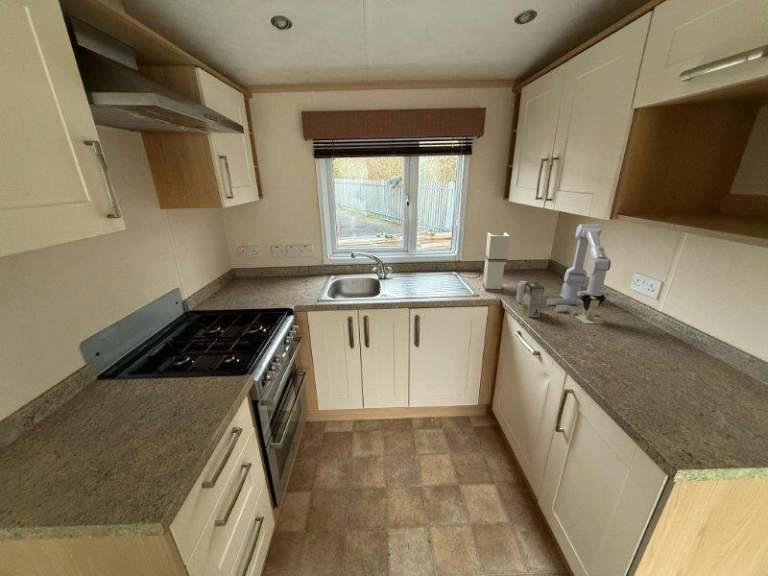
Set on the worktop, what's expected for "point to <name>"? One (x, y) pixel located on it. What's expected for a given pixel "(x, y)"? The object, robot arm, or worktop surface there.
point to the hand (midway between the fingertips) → (590, 309)
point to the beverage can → (520, 292)
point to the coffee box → (532, 299)
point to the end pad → (589, 319)
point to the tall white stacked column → (495, 262)
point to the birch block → (591, 308)
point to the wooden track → (566, 304)
